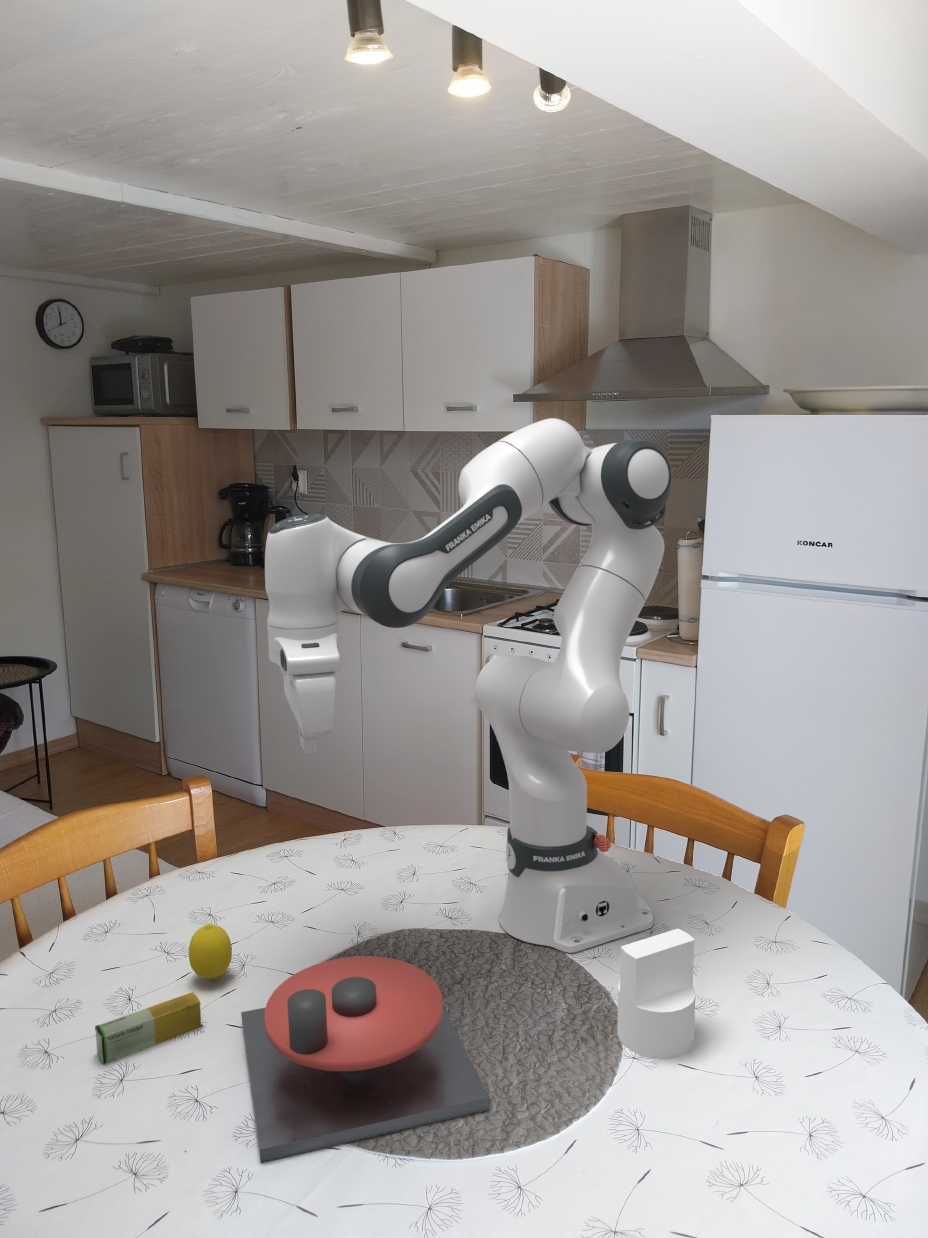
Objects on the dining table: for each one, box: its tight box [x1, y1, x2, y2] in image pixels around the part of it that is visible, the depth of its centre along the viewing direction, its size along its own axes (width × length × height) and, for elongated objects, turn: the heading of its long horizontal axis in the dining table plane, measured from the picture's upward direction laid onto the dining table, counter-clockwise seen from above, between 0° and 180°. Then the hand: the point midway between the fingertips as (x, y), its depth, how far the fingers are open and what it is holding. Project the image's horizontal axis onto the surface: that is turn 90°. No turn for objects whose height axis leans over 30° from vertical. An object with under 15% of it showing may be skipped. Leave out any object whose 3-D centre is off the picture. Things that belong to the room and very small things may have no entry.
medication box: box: [94, 991, 203, 1066], centre depth 114 cm, size 12×3×4 cm, turn 126°
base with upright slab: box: [616, 928, 696, 1060], centre depth 113 cm, size 9×9×12 cm
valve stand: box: [240, 1002, 490, 1163], centre depth 109 cm, size 24×24×6 cm
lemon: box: [188, 923, 233, 981], centre depth 126 cm, size 6×6×8 cm
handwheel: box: [264, 955, 444, 1071], centre depth 108 cm, size 20×20×6 cm
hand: (309, 749), depth 123 cm, fingers closed
